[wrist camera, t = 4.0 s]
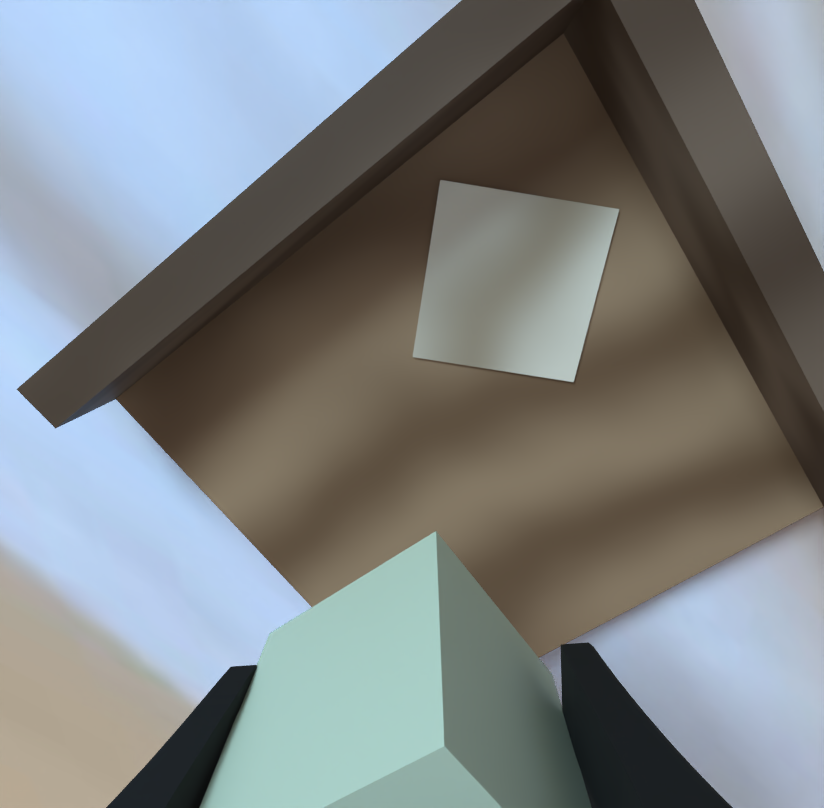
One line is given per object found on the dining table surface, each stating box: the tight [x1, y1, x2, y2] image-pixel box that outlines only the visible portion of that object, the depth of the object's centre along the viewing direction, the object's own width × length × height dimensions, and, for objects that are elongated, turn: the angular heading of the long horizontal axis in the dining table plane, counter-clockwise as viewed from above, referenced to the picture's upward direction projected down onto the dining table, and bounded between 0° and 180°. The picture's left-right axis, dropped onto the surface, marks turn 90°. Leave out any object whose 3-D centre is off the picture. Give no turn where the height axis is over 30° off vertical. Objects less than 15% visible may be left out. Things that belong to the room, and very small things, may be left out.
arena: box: [17, 0, 824, 658], centre depth 17 cm, size 20×20×4 cm
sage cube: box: [199, 531, 592, 808], centre depth 10 cm, size 5×5×5 cm
